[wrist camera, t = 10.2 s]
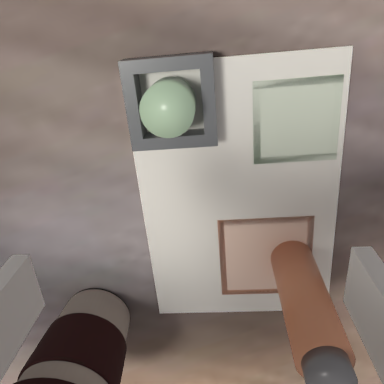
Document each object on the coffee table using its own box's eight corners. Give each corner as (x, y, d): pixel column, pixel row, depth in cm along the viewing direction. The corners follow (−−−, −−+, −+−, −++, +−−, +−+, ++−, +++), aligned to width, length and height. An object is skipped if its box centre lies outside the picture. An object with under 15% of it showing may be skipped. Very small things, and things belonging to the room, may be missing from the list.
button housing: (137, 144, 31) (132, 151, 29) (123, 58, 28) (117, 61, 26) (217, 138, 30) (218, 146, 29) (212, 51, 28) (212, 53, 26)
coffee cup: (38, 293, 40) (-53, 433, 26) (114, 265, 37) (58, 403, 24) (85, 352, 43) (27, 501, 30) (157, 330, 41) (129, 481, 28)
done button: (150, 128, 30) (143, 139, 27) (143, 78, 28) (135, 85, 25) (198, 125, 29) (196, 136, 26) (194, 74, 28) (192, 80, 25)
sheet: (160, 310, 40) (159, 314, 39) (120, 65, 29) (118, 66, 28) (326, 307, 38) (327, 310, 38) (351, 45, 27) (353, 45, 27)
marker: (270, 275, 36) (299, 404, 24) (270, 241, 34) (300, 363, 22) (311, 273, 36) (361, 403, 24) (312, 239, 34) (367, 361, 22)
